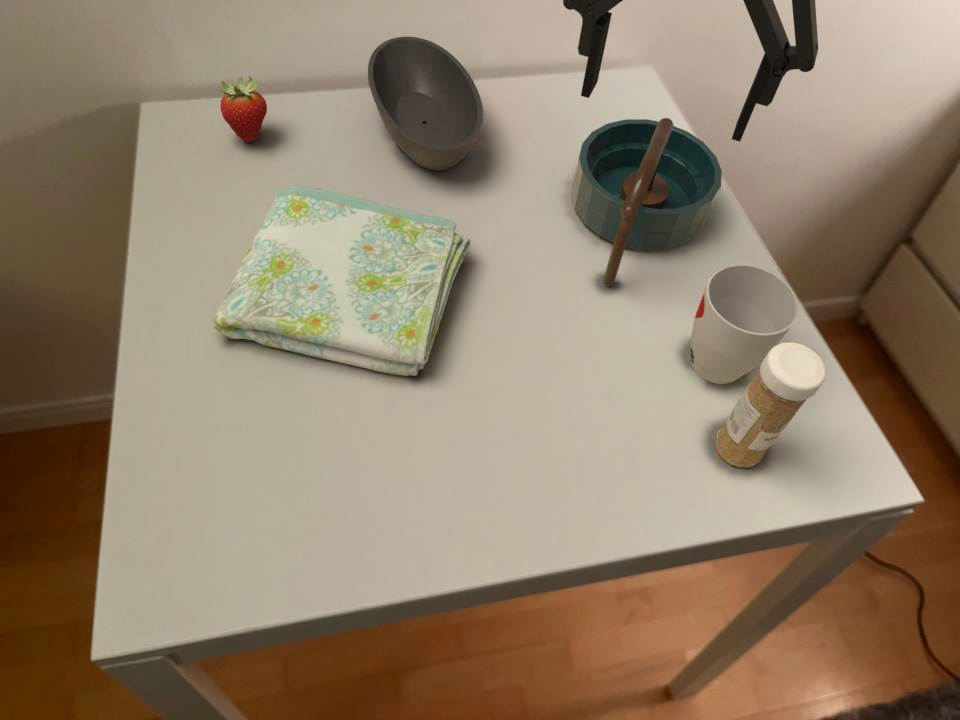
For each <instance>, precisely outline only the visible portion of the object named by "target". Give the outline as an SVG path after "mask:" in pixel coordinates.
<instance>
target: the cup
mask: <svg viewBox="0 0 960 720" xmlns="http://www.w3.org/2000/svg"><path fill="white" fill-rule="evenodd" d="M799 311H800V307H799V302H798V299H797V296H796V294H795V293H794V291H793V289H792V287H790V285H789V284H788V283H787V282H786V281H785V280H783V279H782V278H781V276H778V275H777V274H775V273H773V272H772V271H770V270H768V269H765V268H763V267H760V266H757V265H752V264H745V263H739V264H738V263H737V264H736V263H735V264H730V265H726V266H722V267H721V268H719V269H717V270H716V271H715V272H713V274H712V275H711V276H710V277H709V279H708V281H707V284H706V285H705V289H704V291H703V294H702V296H701V300H700V302H699V305H698V307H697V310H696V313H695V316H694V321H693V325H692V326H693V327H692V331H691V335H690V341H689V342H690V344H689V345H690V347H689V348H690V350H689V351H690V352H689V353H690V357H689V358H690V364H691V367H692V369H693V371H694V372H695V373H696V374H697V375H698V376H699V377H700V378H702V380H705V381H707V382H709V383H711V384H716V385H726V384H731V383H732V382H734V381H736V380H738V379H739V378H741V377H743V376H744V375H746V374H748V373H749V372H751V371H753V369H754V368H756V366H758V365H759V364H760V363H762V361H763V360H764V358H765V357H766V355H767V354H768V353H769V351H770V350H771V349H772V348H773V347H774V346H776V345H778V344H780V342H781V341H782V339H783V338H784V337H785V335H786V334H787V333H788V331H789V330H790V329H791V328H792V326H793V325H794V324H795V323H796V322H797V319H798V316H799V313H800V312H799Z"/></svg>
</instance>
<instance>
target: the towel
mask: <svg viewBox="0 0 960 720" xmlns="http://www.w3.org/2000/svg"><path fill="white" fill-rule="evenodd" d="M456 229H457V223H456V222H455V221H452V220H450V219H448V218H447V219H446V218H443V217H437V216H432V215H431V216H430V215H425V214H422V213H421V214H420V213H417V212H414V211H410V210H405V209H400V208H396V207H392V206H390V205H389V206H388V205H387V204H386V205H385V204H382V203H378V202H375V201H372V200H367V199H363V198H360V197H356V196H351V195H348V194H345V193H344V194H343V193H340V192H336V191H331V190H326V189H325V190H324V189H320V188H315V187H311V186H303V185H298V184H297V185H292V186H288V187H287V186H285V187H284V186H283V187H282V188H281V189H280V191H279V192H278V194H277V196H276V197H275V199H274V200H273V201H272V204H271V206H270V208H269V210H268V211H267V213H266V215H265V217H264V219H263V221H262V223H261V225H260V227H259V229H258V231H257V233H256V234H255V237H254V239H253V241H252V242H251V245H250V246H249V248H248V250H247V251H246V253H245V255H244V257H243V259H242V260H241V263H240V264H239V267H238V268H237V270H236V273H235V275H234V277H233V279H232V281H231V282H230V284H229V287H228V289H227V290H226V292H225V294H224V295H223V298H222V301H221V303H220V305H219V307H218V309H217V311H216V313H215V317H214V319H213V321H212V325H213V328H214V329H215V330H216V331H218V332H219V333H220V334H221V335H223V336H226V337H228V338H229V339H233V340H240V339H243V340H248V341H254V342H256V343H257V344H260V345H263V346H267V347H270V348H271V347H272V348H277V349H281V350H286V351H288V352H294V353H297V354H300V355H306V356H310V357H315V358H318V359H323V360H324V359H325V360H329V361H333V362H338V363H340V364H341V363H342V364H346V365H351V366H354V367H359V368H363V369H366V370H371V371H376V372H379V373H386V374H391V375H396V376H406V377H407V376H415V377H416V376H418V374H419V371H420V370H424V369H425V366H426V363H428V361H429V357H430V354H431V351H432V349H433V345H434V341H435V339H436V335H437V333H438V330H439V327H440V324H441V321H442V318H443V315H444V312H445V309H446V305H447V303H448V299H449V296H450V293H451V290H452V286H453V283H454V280H455V279H456V276H457V275H458V274H457V273H458V272H459V269H460V267H461V265H462V264H463V262H464V259H465V256H466V255H467V252H468V250H469V248H470V245H471V238H469V237H465V236H464V235H462V234H460V233H456Z"/></svg>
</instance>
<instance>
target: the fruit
mask: <svg viewBox="0 0 960 720" xmlns="http://www.w3.org/2000/svg"><path fill="white" fill-rule="evenodd" d="M237 80H238V86H239V87H238V86H237V85H234V84H232V83H230V82H228V81H226V82H225V81H223V80H221V85H222V87H223V88H224V89H223V88H220V87H219V86H217V88H218V90H219V91H220V92H221V93H222V94H223V93H224V95H223V96H222V98H221V99H220V112H221V116H222V118H223V120H224V121H225V122H226V123H227V125H229V127H230V128H231V130H232V131H233V132H234V133H235V135H236V136H237V137H238V138H240V139H241V140H242V141H244V142H247V143H249V142H253V141H255V140H256V139H257V138H258V136H259V133H260V132H261V129H262V125H263V123H264V120H265V117H266V115H267V111H268V105H267V101H266V99H265V98H264V97H263V95H262V94H261V93H259V92H258V91H257V88H258V87H259V81H258V80H255V81H254V79H253V77H251V76H250V75H248V81H247V84H246V85H245V83H244V80H243V77H242V76H240V77H239V78H238V79H237Z"/></svg>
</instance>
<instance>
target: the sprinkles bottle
mask: <svg viewBox="0 0 960 720" xmlns="http://www.w3.org/2000/svg"><path fill="white" fill-rule="evenodd" d="M760 363H761V364H760V366H759V369H758V372H757V373H756V375H755V376H754V377H753V379H752V380H751V382H750V383H749V384H748V385H747V387H746V388H745V391H744V392H743V393H742V395H741V396H740V397H739V399H738V401H737V403H736V404H735V405H734V407H733V408H732V410H731V411H730V413H729V415H728V417H727V420H725V421H726V422H725V423H724V424H723V426H721V428H719V429H718V431H717V433H716V434H715V438H714V445H715V449H716V452H717V454H718V455H719V456H720V457H721V459H723V460H724V461H725V462H726V463H728V465H731V466H734V467H735V468H736V467H737V468H744V469H745V468H746V469H747V468H752V467H755V466H756V465H758V464H759V463H761V462H762V459H763V458H764V456H765V454H766V452H767V451H768V450H769V449H770V448H771V447H772V446H773V444H774V443H775V442H776V441H777V440H778V439H779V437H780V435H781V434H782V432H783V431H784V430H785V429H786V428H787V426H788V425H789V424H790V423H791V421H792V420H793V419H794V417H795V416H796V415H797V412H799V410H800V408H802V406H803V405H804V403H805V402H806V401H807V400H808V399H810V398H812V397H814V395H815V394H816V393H817V392H818V391H819V389H820V388H821V386H822V385H823V383H824V382H825V380H826V377H827V368H826V366H825V362H824V361H823V359H822V358H821V356H820V355H819V354H818V353H817V352H815V351H814V350H813V349H812V348H810V347H808V346H806V345H804V344H802V343H798V342H792V341H786V342H779V343H778V344H777V345H776V346H774V347H773V348H772V349H771V350H770V351H769V353H768V354H767V355H766V357H765V358H764V359H763V360H762V361H761V362H760Z"/></svg>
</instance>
